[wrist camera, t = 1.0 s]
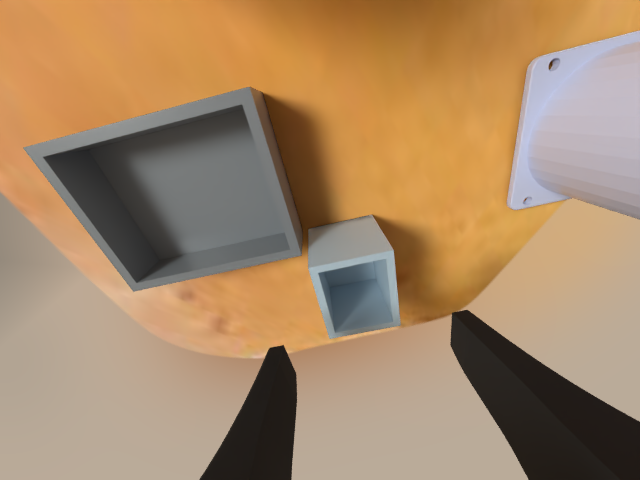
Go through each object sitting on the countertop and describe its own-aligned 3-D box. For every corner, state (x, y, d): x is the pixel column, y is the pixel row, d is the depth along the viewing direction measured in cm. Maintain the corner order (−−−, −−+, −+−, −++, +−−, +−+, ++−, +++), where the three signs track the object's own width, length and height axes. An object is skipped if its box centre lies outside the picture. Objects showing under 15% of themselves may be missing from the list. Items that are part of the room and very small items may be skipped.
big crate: (262, 92, 12) (249, 86, 9) (302, 231, 16) (301, 255, 13) (82, 140, 13) (22, 147, 10) (161, 262, 16) (133, 291, 14)
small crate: (371, 214, 15) (393, 250, 11) (380, 278, 18) (400, 325, 14) (308, 228, 16) (308, 267, 12) (325, 289, 18) (329, 338, 14)
